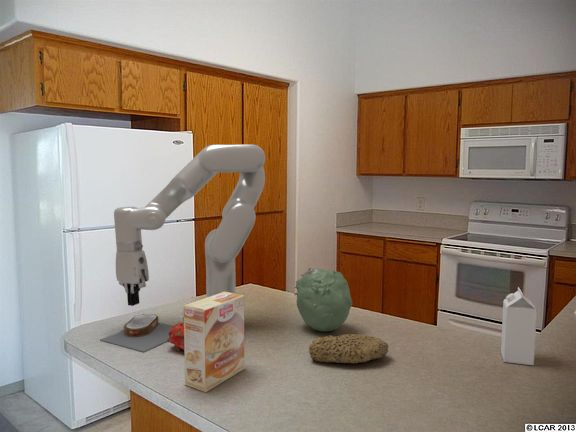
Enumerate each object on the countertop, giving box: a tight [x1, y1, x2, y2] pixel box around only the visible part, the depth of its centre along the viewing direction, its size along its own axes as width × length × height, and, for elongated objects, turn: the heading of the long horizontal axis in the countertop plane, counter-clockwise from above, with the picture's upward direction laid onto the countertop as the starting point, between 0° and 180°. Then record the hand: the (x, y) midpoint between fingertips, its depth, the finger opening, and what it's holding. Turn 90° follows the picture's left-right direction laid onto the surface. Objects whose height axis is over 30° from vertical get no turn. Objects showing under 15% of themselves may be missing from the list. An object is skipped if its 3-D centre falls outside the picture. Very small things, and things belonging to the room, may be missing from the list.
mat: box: [99, 321, 174, 353], centre depth 140 cm, size 18×20×1 cm
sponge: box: [308, 333, 390, 364], centre depth 122 cm, size 13×8×20 cm
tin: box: [123, 313, 159, 337], centre depth 145 cm, size 15×3×8 cm
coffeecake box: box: [183, 292, 246, 393], centre depth 111 cm, size 15×7×20 cm, turn 148°
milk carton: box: [500, 286, 538, 366], centre depth 122 cm, size 7×7×19 cm
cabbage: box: [293, 267, 353, 332], centre depth 144 cm, size 16×19×20 cm
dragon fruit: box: [167, 321, 184, 352], centre depth 129 cm, size 8×8×12 cm
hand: (133, 304), depth 143 cm, fingers closed
